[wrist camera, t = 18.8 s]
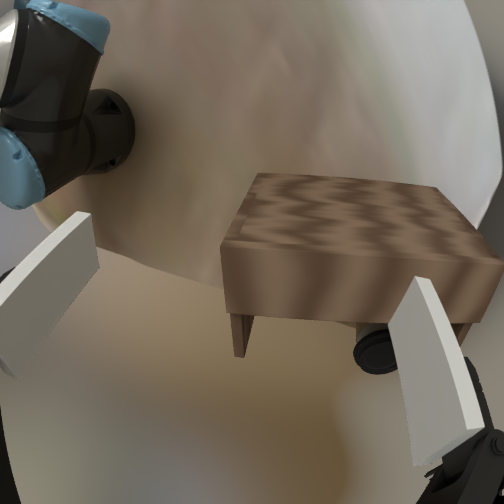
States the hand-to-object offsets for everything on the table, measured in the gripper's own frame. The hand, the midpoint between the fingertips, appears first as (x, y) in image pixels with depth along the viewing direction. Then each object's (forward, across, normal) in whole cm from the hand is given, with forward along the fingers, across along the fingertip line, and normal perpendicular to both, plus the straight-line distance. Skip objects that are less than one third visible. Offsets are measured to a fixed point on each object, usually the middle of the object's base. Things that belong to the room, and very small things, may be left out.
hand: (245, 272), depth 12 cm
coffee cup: (+34, +22, -27) cm, 49 cm away
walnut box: (+34, +13, -14) cm, 40 cm away
